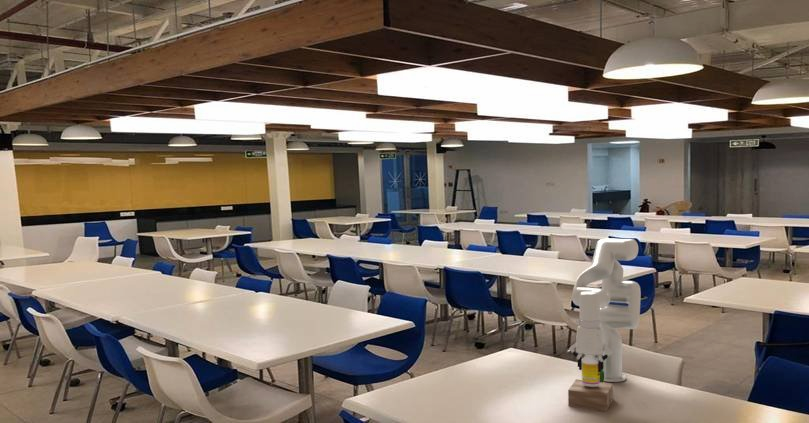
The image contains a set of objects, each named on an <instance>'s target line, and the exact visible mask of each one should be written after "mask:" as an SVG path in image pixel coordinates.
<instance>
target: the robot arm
mask: <svg viewBox="0 0 809 423" xmlns="http://www.w3.org/2000/svg"><path fill="white" fill-rule="evenodd" d="M638 253H639V245H638V242H637V240H636V239H633V238H602V239H598V240H597V242H596V244H595V248H594V253H593V257H592V261H591V265H590V267H588V268H586V269H584V270H583V272H581V273H580V274H578V276H577V277H576V279H575V281H574V284H573V285H574V286H573V289H572V293H571V294H572V296H571V300H572V302H573V304H574V305H575V306H576V307H577V306H578V307H579V319H576V320H575V324H577V325H578V326H577V329H576V336H575V338H576V339H575V342H574V344H573V343H572V345H571V346H570V347H568V350H569V351H570V352H571V353H572V355H574V357H575V358H576V360H577V367H578V370H579V371H582V362H581V360H582V358H583V357H582V356H583V355H584V354H588V355H596V357H597V358H598V359H599V372H601V371H602V370H603V371H604V382H605V383H619V382H624V381H626V380H627V376H626V374H625V373H623V338H622V335H621V333H620V332H619V331H618V329H623V330H624V329H625V330H635V329H637V328H638V327H639V324H640V317H641V316H640V314H641V313H640V312H641V297H642V295H641V294H642V293H641V286H640V284H639V283H638V282H636V281H634V280H624V268H623V266H622V265H621V263H620V262H619V261H625V262H626V261H627V262H628V261H632V260H634V259H635V258H636V257H637V256H638V255H639V254H638ZM601 280H602V281H601ZM598 281H601V288H600V287H599V288H598V287H587V286H588V285H589V284H592V283H595V282H598ZM610 303H620V304H628V305H619V304H610Z"/></svg>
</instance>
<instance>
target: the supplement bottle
mask: <svg viewBox="0 0 809 423" xmlns="http://www.w3.org/2000/svg"><path fill="white" fill-rule="evenodd" d="M583 355H584V356H583V357H582V360H581V362H582V369H581V380H582V384H583V385H585V386H588V387H596V386H599V384H600V372H599V358H598V357H597V355H588V354H583Z"/></svg>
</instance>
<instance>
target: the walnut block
mask: <svg viewBox="0 0 809 423" xmlns="http://www.w3.org/2000/svg"><path fill="white" fill-rule="evenodd" d="M613 386H614V384H613V383H612V382H600V384H599V386H596V387H588V386H585V385H583V384H582V379H578V378H577V379H575V380H574V382H573V383H572V384H571V385H570V387H569V388H568V389H567V391H568V392H567V396H568V397H567V398H568V399H567V403H568V407H574V408H583V409H589V410H596V411H603V412H607V411H608V409H609V407H610V406H611V403H612V402H613V400H614V392H613V391H614V390H613Z"/></svg>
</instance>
